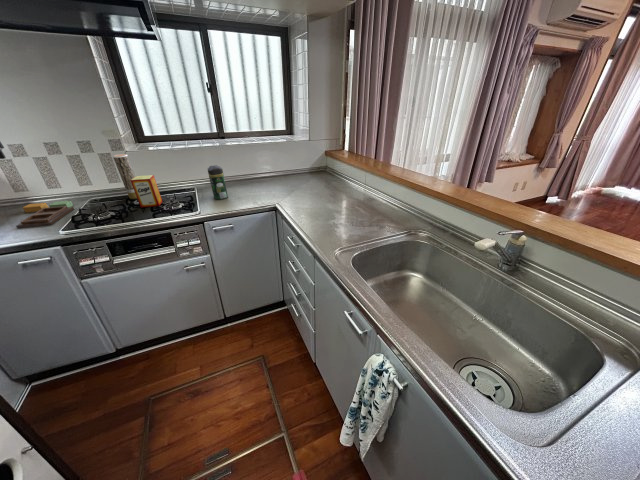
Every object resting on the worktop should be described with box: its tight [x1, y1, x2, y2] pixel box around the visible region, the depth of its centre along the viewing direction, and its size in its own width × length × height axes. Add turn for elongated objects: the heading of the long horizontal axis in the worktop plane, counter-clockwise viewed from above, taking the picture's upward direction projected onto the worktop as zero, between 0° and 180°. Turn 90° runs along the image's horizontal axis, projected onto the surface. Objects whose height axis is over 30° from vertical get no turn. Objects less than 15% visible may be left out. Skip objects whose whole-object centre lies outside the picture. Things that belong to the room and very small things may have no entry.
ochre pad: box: [22, 202, 50, 213], centre depth 146 cm, size 8×5×3 cm, turn 103°
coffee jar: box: [207, 164, 229, 200], centre depth 155 cm, size 10×8×19 cm
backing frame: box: [15, 206, 75, 229], centre depth 137 cm, size 14×20×3 cm
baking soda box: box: [130, 174, 163, 209], centre depth 147 cm, size 10×6×16 cm
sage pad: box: [48, 200, 74, 208], centre depth 148 cm, size 8×5×3 cm, turn 103°
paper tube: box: [112, 153, 138, 200], centre depth 155 cm, size 7×7×25 cm
